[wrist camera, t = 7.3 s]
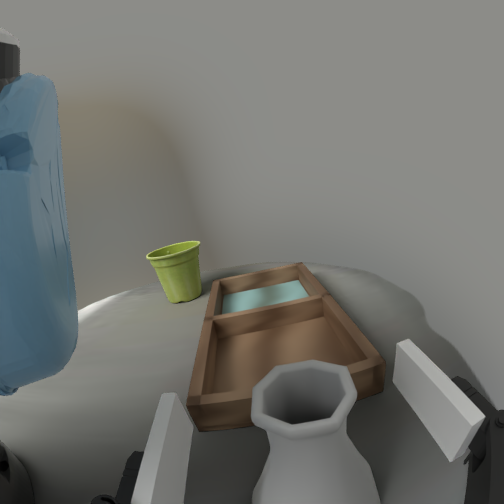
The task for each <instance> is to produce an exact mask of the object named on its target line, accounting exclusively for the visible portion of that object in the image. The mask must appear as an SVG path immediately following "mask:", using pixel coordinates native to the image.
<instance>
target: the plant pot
mask: <svg viewBox="0 0 504 504" xmlns="http://www.w3.org/2000/svg"><path fill="white" fill-rule="evenodd" d="M199 246H200V242H199V241H188V242H182V243H177V244H173V245H169V246H166V247H163V248H160V249H157V250H155V251H153V252H151V253H149V254H147V256H146V258H147V259H149V260H150V262H151V264H152V266H153V267H154V268H155V270H156V273H157V275H158V277H159V280H160V282H161V284H162V286H163V289H164V291H165V293H166V295H167V298H168V300H169V301H170V302H172V303H178V302H180V301H185V302H187V301H191V300H193V299H195V298H197V297H198V296H200V294H201V291H202V287H201V279H200V270H199V260H198V255H199Z"/></svg>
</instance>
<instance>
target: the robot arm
mask: <svg viewBox="0 0 504 504" xmlns="http://www.w3.org/2000/svg"><path fill="white" fill-rule="evenodd" d="M19 63H20V48H19V40H18V39H17V38H16V37H14V36H13V35H11V34H10V33H8V32H7V31H6V30H4V29H3V28H1V27H0V395H3V396H7V395H12V394H14V393H15V392H16V391H17V390H18V388H19V387H22V386H24V385H27V384H30V383H33V382H36V381H39V380H41V379H44V378H47V377H50V376H52V375H55V374H57V373H58V372H60V371H61V370H62V369H63V368H64V366H65V365H66V364H67V363H68V362H69V360H70V358H71V356H72V353H73V352H74V350H75V348H76V344H77V338H78V311H77V301H76V291H75V283H74V275H73V267H72V261H71V251H70V242H69V233H68V224H67V214H66V204H65V192H64V180H63V167H62V153H61V137H60V126H59V123H58V100H57V94H56V90H55V86H54V84H53V82H52V81H51V80H50V79H49V78H47V77H46V76H44V75H43V76H36V75H34V74H31V73H26V74H23V75H21V76H20V73H19V72H20V71H19V70H20V67H19V66H20V64H19ZM392 382H393V383H394V384H395V386H396V387H397V388H398V390H399V391H400V392H401V394H402V395H403V397H404V398H405V399H406V401H407V402H408V403H409V405H410V406H411V407H412V409H413V410H414V412H415V413H416V414H417V416H418V417H419V418H420V420H421V421H422V423H423V424H424V425H425V427H426V428H427V430H428V431H429V432H430V434H431V435H432V437H433V438H434V440H435V441H436V442H437V444H438V445H439V447H440V448H441V450H442V451H443V452H444V454H445V455H446V457H447V458H448V460H449V461H450V463H451V462H452V461H454V460H456V459H457V458H459V457H460V456H462V455H463V454H464V453H465V451H466V450H467V448H468V447H469V449H470V450H471V452H470V453H469V455H468V456H467V458H466V459H465V460H464V464H466V463H467V461H468V460H469V463H468V464H469V467H468V479H467V488H466V495H465V502H464V504H504V410H499V411H498V410H496V409H495V408H494V407H493V406H492V405H491V404H490V403H489V402H488V401H487V400H486V399H485V398H484V397H483V396H482V395H481V394H480V393H479V392H477V390H476V389H475V388H474V387H472V385H471V384H470V383H469V382H468V381H467V380H465V379H463V378H460V377H458V376H457V377H455V378H453V379H451V380H450V379H449V378H448V377H447V376H446V375H445V374H444V373H443V372H442V371H441V370H440V369H439V368H438V367H437V366H436V365H435V364H434V363H433V362H432V361H431V360H430V359H429V358H428V357H427V356H426V355H425V354H424V353H423V352H422V351H421V350H420V349H419V348H418V347H417V346H416V345H415V344H414V343H413V342H412V341H411V340H410V339H406V340H404V341H401V342H399V343H397V345H396V356H395V366H394V374H393V381H392ZM192 433H193V425H192V423H191V421H190V419H189V417H188V415H187V413H186V411H185V409H184V407H183V405H182V403H181V401H180V399H179V397H178V395H177V393H176V392H173V393H162V395H161V398H160V401H159V405H158V408H157V411H156V414H155V418H154V421H153V424H152V428H151V431H150V434H149V438H148V441H147V445H146V448H145V452H138V451H134V452H133V453H132V455H131V456H130V457H129V458H128V460H127V463H126V466H125V470H124V472H123V477H122V479H121V482H120V485H119V489H118V492H117V495H116V499H115V498H113V497H112V496H109V495H99V496H97V497H95V498H94V499H93V500H92V501H91V504H184V495H185V486H186V478H187V470H188V462H189V455H190V447H191V440H192ZM464 464H463V465H464ZM0 504H34V498H33V490H32V485H31V482H30V479H29V476H28V474H27V471H26V469H25V468H24V466H23V465H22V463H21V462H20V461H19V460H18V459H17V458H16V456H15V455H14V454H13V453H12V452H11V451H10V450H9V449H8V448H7V446H6V445H5V444H4V443H3V442H1V441H0Z"/></svg>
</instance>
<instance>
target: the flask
mask: <svg viewBox="0 0 504 504" xmlns="http://www.w3.org/2000/svg"><path fill="white" fill-rule="evenodd" d="M356 399H357V390H356V388H355V385H354V383H353V380H352V378H351V376H350V373H349V371H348V368H347V366H342V365H337V364H332V363H327V362H322V361H317V360H307V361H302V362H296V363H290V364H284V365H278V366H275V367H274V368H273V369H272V370H271V371H270V372H269V373H268V374H267V375H266V376H265V377H264V378H263V379H262V380H261V381H260V382H258V383H257V384H256V385H255V386H254V387H253V390H252V407H251V419H252V422H253V423H254V424H255V425H256V426H258V427H260V428H262V429H265V430H266V432H267V436H268V440H269V443H270V453H269V456H268V458H267V461H266V464H265V466H264V469H263V472H262V474H261V476H260V478H259V480H258V482H257V484H256V486H255V488H254V490H253V493H252V504H380V503H381V502H380V498H379V495H378V491H377V488H376V484H375V481H374V477H373V474H372V471H371V467H370V465H369V464H368V462H367V461H366V460H365V459H364V458H363V456H362V455H361V454H360V453H359V452H358V450H357V449H356V447H355V446H354V444H353V443H352V441H351V440H350V438H349V437H348V435H347V433H346V422H347V415H348V414H349V412H350V410H351V408H352V407H353V405H354V403H355V401H356Z"/></svg>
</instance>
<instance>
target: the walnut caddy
mask: <svg viewBox="0 0 504 504" xmlns="http://www.w3.org/2000/svg"><path fill="white" fill-rule="evenodd" d="M307 360H317V361H322V362H327V363H332V364H337V365H342V366H347V368H348V371H349V373H350V376H351V378H352V380H353V383H354V385H355V388H356V390H357V399H356V401H357V400H360V399H363V398H366V397H369V396H371V395H374V394H377V393H379V392H382V391H383V386H384V378H385V368H386V361H385V360H384V359H383V357H382V356H381V355H380V354H379V353H378V351H377V350H376V349H375V348H374V346H373V345H372V344H371V343H370V342H369V340H368V339H367V338H366V337H365V336H364V334H363V333H362V332H361V331H360V330H359V328H358V327H357V326H356V325H355V324H354V322H353V321H352V320H351V319H350V318H349V316H348V315H347V314H346V313H345V312H344V310H343V309H342V308H341V307H340V306H339V305H338V303H337V302H336V301H335V300H334V299H333V298H332V296H331V295H330V294H329V293H328V292H327V291H326V289H325V288H324V287H323V286H322V285H321V284H320V282H319V281H318V280H317V279H316V278H315V277H314V276H313V274H312V273H311V272H310V271H309V270H308V269H307V268H306V266H305V265H304V264H303V263H302V262H300V263H296V264H291V265H286V266H282V267H277V268H272V269H267V270H262V271H257V272H252V273H248V274H243V275H238V276H233V277H228V278H223V279H217V280H213V284H212V288H211V293H210V297H209V301H208V305H207V310H206V314H205V318H204V323H203V327H202V331H201V336H200V340H199V345H198V350H197V354H196V359H195V363H194V368H193V373H192V378H191V383H190V387H189V392H188V397H187V402H186V407H187V409H188V411H189V413H190V415H191V417H192V419H193V421H194V423H195V425H196V427H197V428H198V430H199V432H201V431H214V430H224V429H233V428H241V427H248V426H254V425H255V424H254V423H253V422H252V419H251V407H252V390H253V387H254V386H255V385H256V384H257V383H258V382H260V381H261V380H262V379H263V378H264V377H265V376H266V375H267V374H268V373H269V372H270V371H271V370H272V369H273V368H274V367H275V366H278V365H284V364H290V363H296V362H302V361H307Z"/></svg>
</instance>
